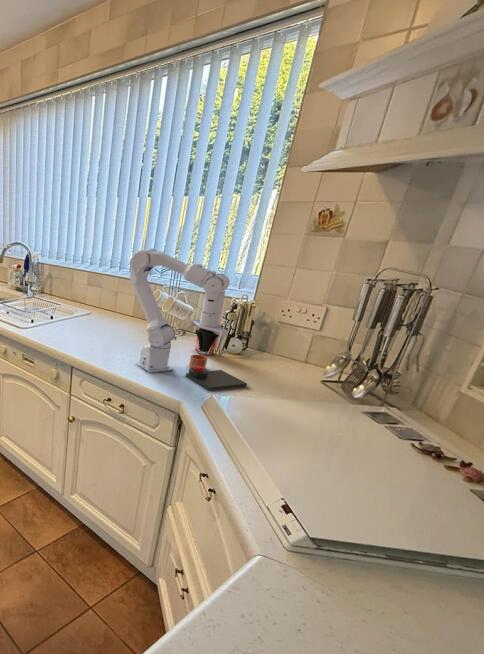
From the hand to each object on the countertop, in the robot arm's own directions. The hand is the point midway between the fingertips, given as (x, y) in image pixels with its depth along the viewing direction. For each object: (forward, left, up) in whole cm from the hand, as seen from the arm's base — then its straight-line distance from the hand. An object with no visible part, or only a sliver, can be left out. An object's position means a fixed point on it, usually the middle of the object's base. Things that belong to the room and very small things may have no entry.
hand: (204, 350), depth 135 cm
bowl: (+6, +8, -10) cm, 14 cm away
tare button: (0, 0, -8) cm, 8 cm away
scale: (+4, -4, -10) cm, 12 cm away
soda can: (+20, +22, -11) cm, 32 cm away
